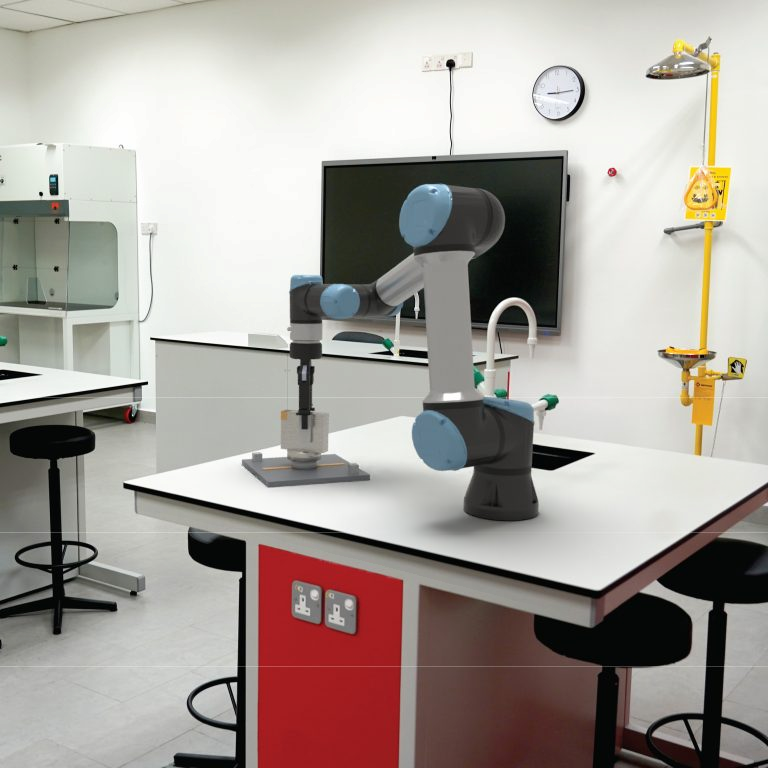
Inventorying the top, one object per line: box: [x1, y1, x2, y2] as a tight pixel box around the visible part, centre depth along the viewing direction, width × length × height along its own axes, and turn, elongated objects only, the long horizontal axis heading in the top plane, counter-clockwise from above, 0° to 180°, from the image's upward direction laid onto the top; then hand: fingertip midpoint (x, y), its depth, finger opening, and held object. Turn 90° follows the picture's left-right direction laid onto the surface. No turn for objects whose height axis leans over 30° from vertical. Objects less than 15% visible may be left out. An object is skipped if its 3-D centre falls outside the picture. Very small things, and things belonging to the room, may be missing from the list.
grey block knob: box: [280, 409, 330, 462], centre depth 213 cm, size 11×8×11 cm
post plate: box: [241, 451, 371, 488], centre depth 214 cm, size 24×24×3 cm
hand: (305, 440), depth 213 cm, fingers closed on grey block knob, 4 cm apart
